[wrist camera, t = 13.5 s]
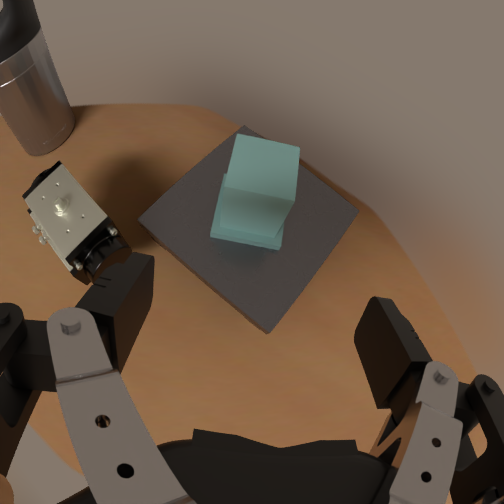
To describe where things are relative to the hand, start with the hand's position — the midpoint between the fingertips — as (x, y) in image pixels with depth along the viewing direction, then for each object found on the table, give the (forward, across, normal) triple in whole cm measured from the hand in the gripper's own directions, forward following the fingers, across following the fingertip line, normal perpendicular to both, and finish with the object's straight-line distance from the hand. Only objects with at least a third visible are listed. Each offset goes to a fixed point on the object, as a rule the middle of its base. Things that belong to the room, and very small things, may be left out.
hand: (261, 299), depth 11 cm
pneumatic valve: (+19, +16, +11) cm, 27 cm away
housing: (+19, 0, +3) cm, 19 cm away
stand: (+23, 0, +6) cm, 24 cm away
